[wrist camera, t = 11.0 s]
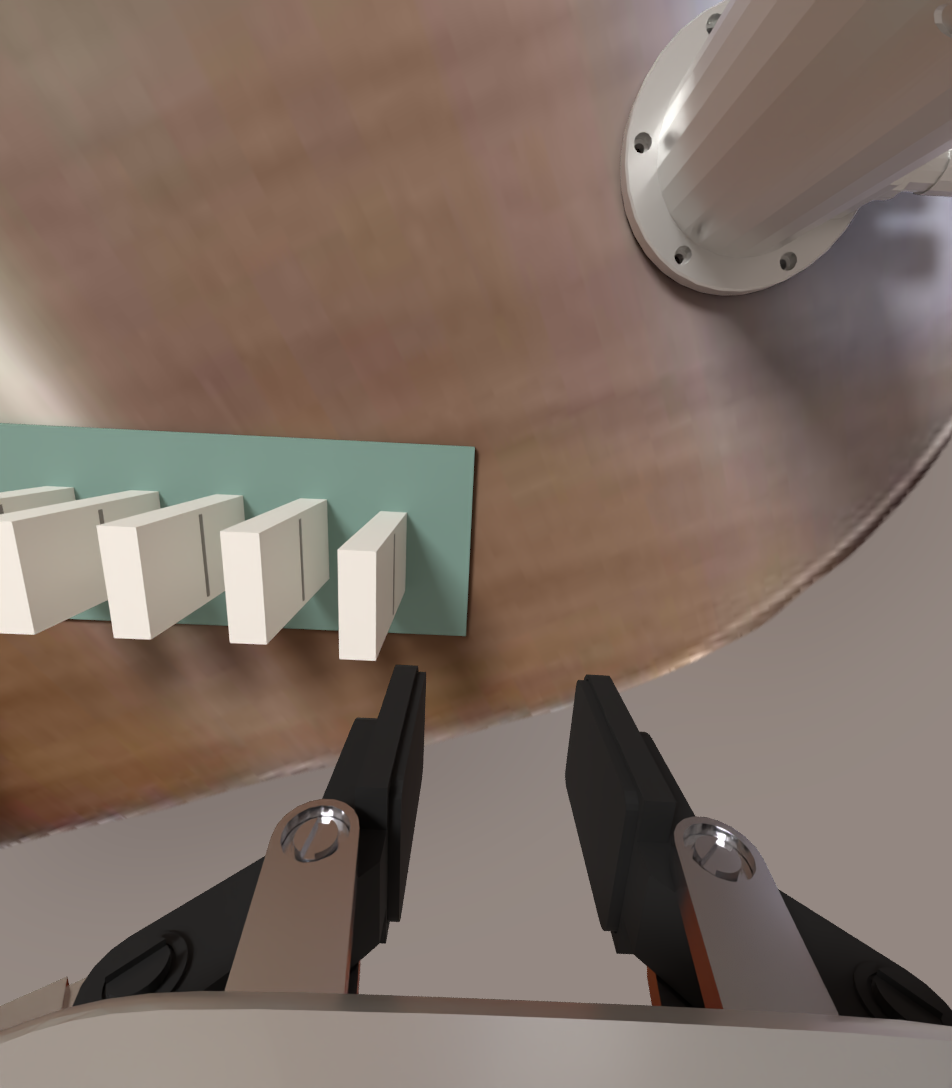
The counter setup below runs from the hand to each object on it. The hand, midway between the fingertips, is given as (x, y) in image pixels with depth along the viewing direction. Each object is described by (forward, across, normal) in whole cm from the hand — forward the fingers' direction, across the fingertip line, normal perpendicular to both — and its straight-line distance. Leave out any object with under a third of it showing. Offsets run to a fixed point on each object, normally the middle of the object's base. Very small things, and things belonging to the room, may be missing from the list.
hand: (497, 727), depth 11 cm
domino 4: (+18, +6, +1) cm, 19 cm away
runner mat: (+18, +16, 0) cm, 24 cm away
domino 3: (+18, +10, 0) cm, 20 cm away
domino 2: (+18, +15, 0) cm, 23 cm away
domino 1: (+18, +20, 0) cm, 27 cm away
